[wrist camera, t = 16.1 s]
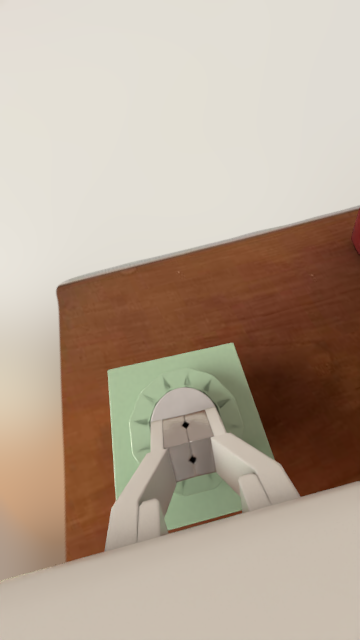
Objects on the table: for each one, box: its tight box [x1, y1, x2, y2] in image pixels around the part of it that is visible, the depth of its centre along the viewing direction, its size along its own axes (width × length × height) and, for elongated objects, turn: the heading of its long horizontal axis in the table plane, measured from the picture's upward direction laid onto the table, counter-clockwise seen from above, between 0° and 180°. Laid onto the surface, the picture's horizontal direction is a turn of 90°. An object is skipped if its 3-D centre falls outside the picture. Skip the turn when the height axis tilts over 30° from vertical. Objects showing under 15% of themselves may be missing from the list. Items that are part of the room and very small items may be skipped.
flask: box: [108, 343, 275, 530], centre depth 19 cm, size 10×10×14 cm
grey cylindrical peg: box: [151, 387, 217, 422], centre depth 12 cm, size 4×4×2 cm
